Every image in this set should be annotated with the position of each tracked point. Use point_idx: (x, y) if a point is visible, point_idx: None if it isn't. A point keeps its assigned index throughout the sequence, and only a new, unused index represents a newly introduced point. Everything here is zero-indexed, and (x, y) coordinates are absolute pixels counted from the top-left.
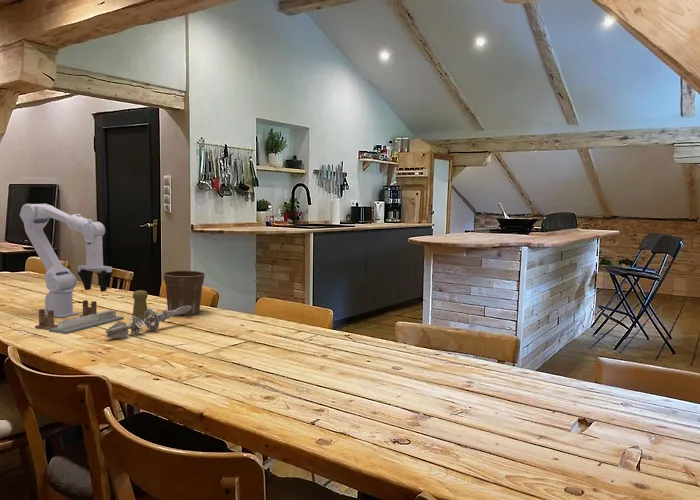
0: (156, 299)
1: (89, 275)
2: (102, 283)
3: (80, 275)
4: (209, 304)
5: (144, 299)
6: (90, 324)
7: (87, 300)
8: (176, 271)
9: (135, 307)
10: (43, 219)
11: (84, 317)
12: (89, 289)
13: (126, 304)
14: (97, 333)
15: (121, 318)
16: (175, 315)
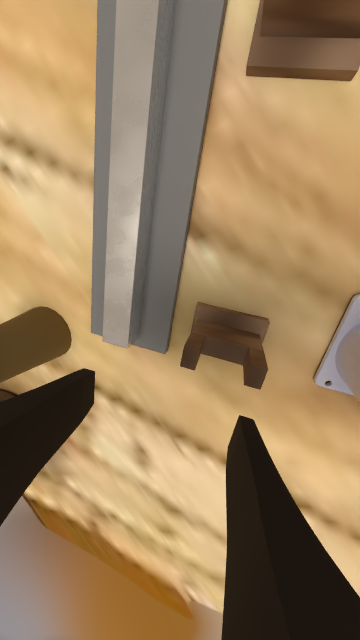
0: (180, 571)
1: (231, 638)
2: (15, 401)
3: (347, 629)
4: (35, 508)
5: None
6: (107, 161)
7: (245, 384)
8: None
9: (2, 329)
10: None
11: (117, 142)
12: (230, 440)
13: (224, 524)
14: (9, 56)
15: (93, 320)
16: (6, 392)
